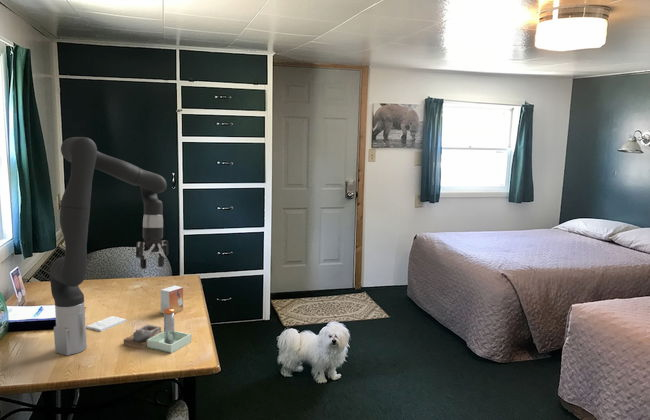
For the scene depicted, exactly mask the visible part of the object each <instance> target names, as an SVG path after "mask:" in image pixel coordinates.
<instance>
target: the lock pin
mask: <svg viewBox="0 0 650 420" xmlns="http://www.w3.org/2000/svg"><path fill="white" fill-rule="evenodd" d="M174 312H175V309H174V308H165V309H163V313H164V314H163V313H162V314H163V331H164V343H167V344H173V343H174V331H175V313H174Z"/></svg>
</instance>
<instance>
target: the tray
mask: <svg viewBox="0 0 650 420" xmlns="http://www.w3.org/2000/svg"><path fill="white" fill-rule="evenodd" d="M162 331H163V332H161V333H159V334H157V335H155V336H153V337H151V338H149V339H148V340H147V347H146V348H147V349H150V350H151V349H152V350H155V351H160V352H164V353H167V354H173V353H174V352H176V351H178V350H180V349H182V348H183V347H186V346H187V345H188V344H190V343H192V334H191V333H186V332H182V331H178V330H174V343H173V344H167V343H164V330H162Z"/></svg>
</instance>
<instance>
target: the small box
mask: <svg viewBox="0 0 650 420" xmlns="http://www.w3.org/2000/svg"><path fill="white" fill-rule="evenodd" d="M159 293H160V313H161V314H163V315H164V313H163V309H165V308H174V309H175V312H174V314H177V313H180V312H183V311H184V288H183V287H182V286H178V285H172V286H169V287H165V288H162V289H160V291H159Z"/></svg>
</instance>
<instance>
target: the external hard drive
mask: <svg viewBox="0 0 650 420" xmlns="http://www.w3.org/2000/svg"><path fill="white" fill-rule="evenodd" d="M126 322H127V320H126V318H121V317H118V316H113V315H111V316H109V317H108V316H107V317H106V318H103V319H100V320H99V321H96V322H93V323H91V324H88V325H86V329H88V330H92V331H93V330H94V331H96V332H100V333H101V332H103V331H107V330H108V329H112V328H114V327H116V326H119V325H120V324H123V323H126Z"/></svg>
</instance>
